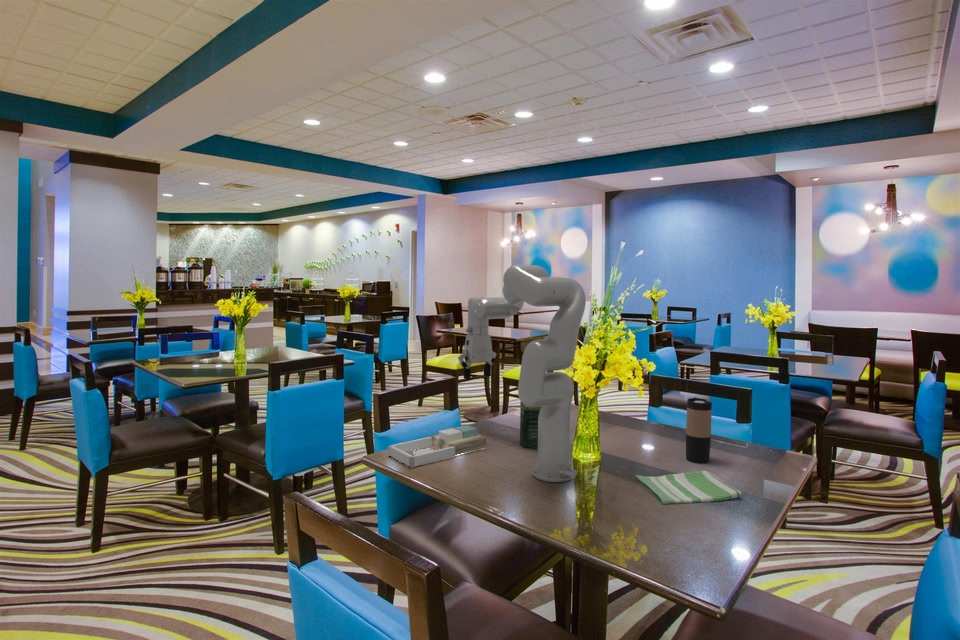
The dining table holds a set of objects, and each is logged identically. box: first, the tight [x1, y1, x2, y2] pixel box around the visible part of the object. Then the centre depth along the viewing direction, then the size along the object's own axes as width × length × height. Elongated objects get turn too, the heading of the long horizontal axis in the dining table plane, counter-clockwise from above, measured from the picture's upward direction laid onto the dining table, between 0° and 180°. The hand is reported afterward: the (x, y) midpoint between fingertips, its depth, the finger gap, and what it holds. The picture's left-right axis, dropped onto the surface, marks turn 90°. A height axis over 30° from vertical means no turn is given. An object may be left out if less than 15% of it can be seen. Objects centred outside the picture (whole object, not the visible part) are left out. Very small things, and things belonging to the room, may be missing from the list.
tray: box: [387, 436, 455, 467], centre depth 175 cm, size 15×17×4 cm
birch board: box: [430, 433, 488, 455], centre depth 185 cm, size 14×14×4 cm
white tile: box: [438, 427, 463, 442], centre depth 182 cm, size 6×6×2 cm
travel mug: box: [685, 397, 713, 465], centre depth 173 cm, size 8×8×20 cm
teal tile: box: [453, 424, 478, 438], centre depth 186 cm, size 6×6×2 cm
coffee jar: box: [519, 401, 542, 449], centre depth 189 cm, size 10×8×19 cm
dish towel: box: [635, 470, 742, 505], centre depth 148 cm, size 18×23×3 cm
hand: (477, 377), depth 192 cm, fingers open, 9 cm apart
